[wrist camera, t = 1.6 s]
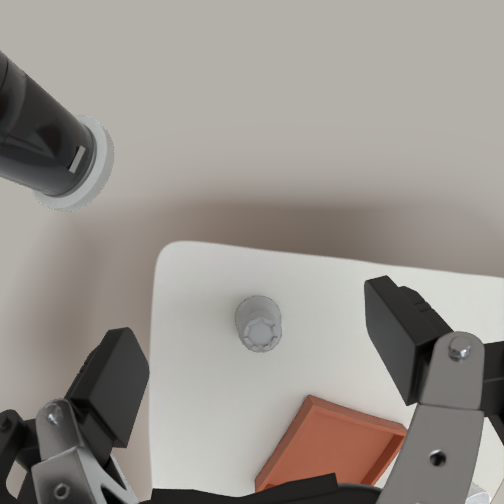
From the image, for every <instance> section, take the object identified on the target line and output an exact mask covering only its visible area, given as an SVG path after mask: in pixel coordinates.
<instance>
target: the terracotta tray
mask: <svg viewBox="0 0 504 504" xmlns="http://www.w3.org/2000/svg"><path fill="white" fill-rule="evenodd" d="M407 432H408V430H407V429H406V428H405V427H404V426H403V425H402V424H399V423H395V422H392V421H388V420H385V419H381V418H378V417H374V416H371V415H368V414H364V413H361V412H358V411H355V410H352V409H349V408H345V407H342V406H339V405H336V404H334V403H331V402H328V401H325V400H322V399H319V398H316V397H314V396H311V395H308V397H307V399H306V400H305V402H304V404H303V405H302V407H301V409H300V411H299V412H298V414H297V416H296V417H295V419H294V421H293V422H292V424H291V426H290V427H289V429H288V431H287V432H286V434H285V435H284V437H283V439H282V440H281V442H280V443H279V445H278V446H277V448H276V450H275V451H274V453H273V454H272V456H271V457H270V459H269V460H268V462H267V463H266V465H265V466H264V468H263V469H262V471H261V472H260V473H259V475H258V476H257V478H256V479H255V493H256V492H259V491H263V490H266V489H268V488H271V487H274V486H277V485H280V484H283V483H285V482H288V481H294V480H300V479H306V478H311V477H316V476H320V475H325V474H329V473H334V472H335V474H336V478H337V483H358V484H365V485H370V486H374V485H375V483H376V482H377V481H378V480H379V478H380V477H381V476H382V474H383V473H384V472H385V470H386V469H387V468H388V466H389V465H390V463H391V462H392V461H393V459H394V458H395V456H396V455H397V454H398V452H399V451H400V449H401V447H402V445H403V442H404V439H405V437H406V434H407Z"/></svg>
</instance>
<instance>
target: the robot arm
mask: <svg viewBox="0 0 504 504" xmlns="http://www.w3.org/2000/svg"><path fill="white" fill-rule="evenodd" d="M96 155H97V143H96V139H95V136H94V134H93V133H92V131H91V130H90V129H89V128H88V127H87V126H86V125H84V124H82V123H81V122H80V121H79V120H77V119H76V118H75V117H74V116H73V115H72V114H71V113H70V112H69V111H67V110H66V109H65V108H64V107H63V106H62V105H61V104H60V103H58V102H57V101H56V100H55V99H54V98H53V97H52V96H51V95H49V94H48V93H47V92H46V91H45V90H44V89H43V88H41V87H40V86H39V85H38V84H37V83H36V82H35V81H34V80H33V79H32V78H30V77H29V76H28V75H27V74H26V73H25V72H24V71H23V70H21V69H20V68H19V67H18V66H17V65H16V64H15V63H13V62H12V61H11V60H10V59H9V58H8V57H7V56H6V55H5V54H4V53H2V52H1V51H0V177H2V178H5V179H7V180H10V181H13V182H15V183H18V184H20V185H23V186H26V187H28V188H31V189H33V190H36V191H38V192H41V193H43V194H44V195H47V196H49V197H53V198H61V197H65V196H68V195H70V194H72V193H73V192H75V191H76V190H77V189H78V188H80V187H81V186H82V185H83V183H84V182H85V181H86V180H87V178H88V177H89V175H90V173H91V171H92V169H93V166H94V164H95V160H96ZM364 294H365V315H366V326H367V331H368V334H369V337H370V339H371V341H372V342H373V344H374V346H375V348H376V350H377V351H378V353H379V355H380V357H381V359H382V360H383V362H384V364H385V366H386V368H387V370H388V372H389V373H390V375H391V377H392V379H393V381H394V383H395V385H396V387H397V389H398V390H399V392H400V394H401V396H402V398H403V400H404V402H405V404H406V406H409V405H412V404H414V403H417V402H418V403H417V406H416V409H415V412H414V415H413V418H412V420H411V423H410V426H409V429H408V432H407V434H406V437H405V439H404V442H403V445H402V447H401V450H400V452H399V455H398V457H397V459H396V462H395V464H394V466H393V469H392V471H391V473H390V475H389V477H388V480H387V482H386V484H385V486H384V488H383V489H381V488H378V487H374V486H370V485H365V484H358V483H337V478H336V474H335V472H334V473H329V474H325V475H320V476H316V477H311V478H306V479H300V480H294V481H288V482H285V483H283V484H280V485H277V486H274V487H271V488H268V489H266V490H263V491H259V492H256V493H253V494H250V495H247V496H243V497H230V496H224V495H218V494H213V493H208V492H203V491H198V490H193V489H155V488H153V490H152V495H151V500H147V501H143V502H139V500H138V499H137V498H136V497H135V495H134V494H133V491H132V490H131V488H130V486H129V484H128V482H127V480H126V479H125V477H124V475H123V473H122V471H121V469H120V467H119V465H118V463H117V461H116V459H115V457H114V456H113V455H112V454H111V450H112V447H117V448H127V445H128V441H129V438H130V435H131V432H132V429H133V425H134V422H135V419H136V416H137V413H138V409H139V407H140V403H141V400H142V397H143V394H144V391H145V388H146V385H147V382H148V379H149V374H150V372H149V365H148V362H147V360H146V358H145V356H144V354H143V352H142V350H141V348H140V346H139V344H138V342H137V339H136V337H135V335H134V333H133V331H132V330H131V329H130V328H128V327H126V328H119V329H113V330H108V332H107V333H106V335H105V336H104V338H103V340H102V341H101V343H100V345H98V346H97V347H96V348H95V349H94V350H93V351H92V352H91V353H90V354H89V356H88V357H87V359H86V361H85V362H84V365H83V366H82V367H81V369H80V371H79V372H80V373H78V374H77V376H76V378H75V379H74V381H73V383H72V385H71V386H70V388H69V390H68V392H67V393H66V395H65V397H64V399H62V398H59V399H54V400H52V401H50V402H48V403H46V404H45V405H44V406H43V407H42V408H41V409H40V410H39V412H38V414H37V416H36V418H35V419H30V420H25V421H24V420H23V419H22V418H21V417H20V416H19V414H18V413H17V412H16V411H15V410H6V411H3V412H1V413H0V504H465V502H466V499H467V496H468V492H469V489H470V485H471V481H472V477H473V473H474V469H475V465H476V461H477V456H478V451H479V446H480V441H481V435H482V429H483V422H484V417H488V418H489V420H490V422H491V423H492V425H493V427H494V429H495V431H496V432H497V434H498V436H499V438H500V440H501V442H502V444H503V445H504V341H500V342H494V343H487V344H483V343H482V341H481V340H480V339H479V338H478V337H476V336H475V335H473V334H470V333H467V332H460V331H457V332H454V331H453V330H452V329H451V328H450V327H449V325H448V324H447V323H446V322H445V321H444V320H443V319H442V318H441V317H440V316H439V315H438V313H437V312H436V311H435V310H434V309H432V308H431V306H430V305H429V304H428V303H427V302H425V300H424V299H423V298H422V297H421V296H420V294H419V293H418V292H417V291H414V290H412V289H410V288H408V287H406V286H402V287H398V286H397V285H396V284H395V283H394V282H393V281H392V280H391V279H390V278H389V277H388V276H387V275H386V276H382V277H378V278H374V279H370V280H366V281H365V283H364ZM15 460H16V461H17V462H18V463H19V464H20V465H21V466H22V467H23V468H24V469H25V470H26V471H27V474H26V476H25V479H24V481H23V484H22V487H21V489H20V492H19V495H18V498H17V499H16V498H15V497H13V496H12V495H11V494H10V493H9V492H8V490H7V487H6V479H7V477H8V474H9V472H10V470H11V467H12V465H13V463H14V461H15Z"/></svg>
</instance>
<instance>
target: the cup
mask: <svg viewBox="0 0 504 504" xmlns="http://www.w3.org/2000/svg"><path fill="white" fill-rule="evenodd" d="M490 501H491V495H490V494H489V492H487V491H485V490H484V489H482V488H481V487H479V486H478V485H476V484H475V483H473V482H472V481H471V485H470V489H469V492H468V496H467V499H466V502H465V504H489V503H490Z"/></svg>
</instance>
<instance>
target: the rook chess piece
mask: <svg viewBox="0 0 504 504" xmlns="http://www.w3.org/2000/svg"><path fill="white" fill-rule="evenodd" d="M235 316H236V326H237V328H238V330H239V337H240V339H241V341H242V343H243V345H245V346H246V347H247V348H248V349H249V350H252V351H254V352H267V351H269V350H271V349H273V348H274V347H275V346H276V345H277V344H278V343H279V341H280V339H281V336H282V327H281V313H280V310H279V308H278V305H276V304H275V303H274V302H273V301H272V300H271V299H269V298H267V297H264V296H252V297H250V298H248V299H245V300H244V301H243V302H242V303H241V304H240V305H239V307H238V309H237V312H236V314H235Z"/></svg>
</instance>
